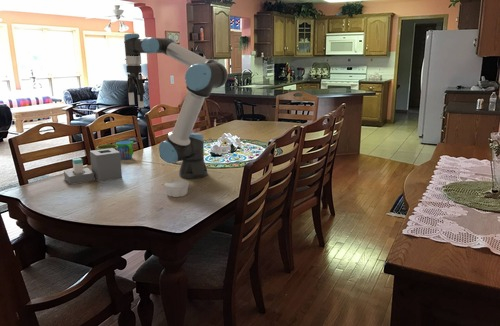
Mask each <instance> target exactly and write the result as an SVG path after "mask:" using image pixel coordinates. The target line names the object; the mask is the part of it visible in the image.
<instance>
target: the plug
mask: <svg viewBox="0 0 500 326" xmlns="http://www.w3.org/2000/svg"><path fill="white" fill-rule="evenodd" d="M71 160H72V170H74V174H79V173H84V170H83V168H84V162H83V159H82V158H81V157H76V158H72V159H71Z"/></svg>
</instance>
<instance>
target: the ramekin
mask: <svg viewBox="0 0 500 326" xmlns="http://www.w3.org/2000/svg"><path fill="white" fill-rule="evenodd" d="M189 186H190V185H189V182H188V181H186V180H181V179H175V180H169V181H166V182H165V183H164V187H165V193H166V195H167V196H168V195H169V196H168V197H171V196H173V198H180V197H179V196H181V197H184V196H186V195H187V194H188V189H189Z"/></svg>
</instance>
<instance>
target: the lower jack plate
mask: <svg viewBox="0 0 500 326" xmlns="http://www.w3.org/2000/svg"><path fill="white" fill-rule="evenodd" d="M83 170H84V173H79V174H74V170H73V169H71V170H64V171H63V176H64V177H63V178H64V179H65V181H66V182H67V183H68V184H69V185H75V184H81V183H86V182H87V183H88V182H93V181H96V179H95V178H94V173H93V172H92V169H91V168H89V167H83Z"/></svg>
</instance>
